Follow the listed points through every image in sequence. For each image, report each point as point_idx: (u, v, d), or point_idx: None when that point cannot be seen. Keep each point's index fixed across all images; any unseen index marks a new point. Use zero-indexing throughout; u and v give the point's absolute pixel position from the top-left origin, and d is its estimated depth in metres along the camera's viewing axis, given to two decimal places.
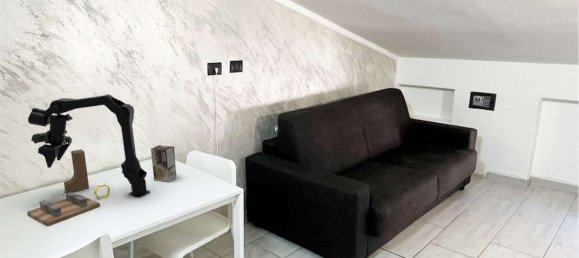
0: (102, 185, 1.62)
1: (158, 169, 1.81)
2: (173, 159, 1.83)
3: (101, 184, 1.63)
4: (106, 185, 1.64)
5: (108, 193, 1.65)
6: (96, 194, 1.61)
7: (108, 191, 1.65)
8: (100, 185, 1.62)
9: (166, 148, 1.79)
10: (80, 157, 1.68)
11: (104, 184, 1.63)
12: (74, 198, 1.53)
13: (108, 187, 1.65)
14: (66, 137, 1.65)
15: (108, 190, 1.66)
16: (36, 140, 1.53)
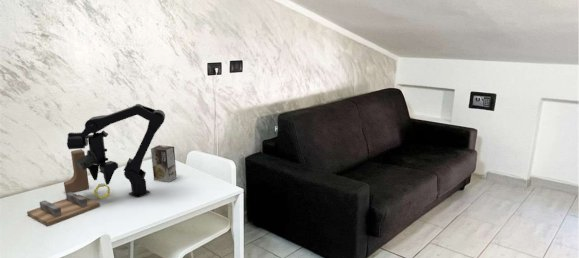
0: (102, 185, 1.62)
1: (158, 169, 1.81)
2: (173, 159, 1.83)
3: (101, 184, 1.63)
4: (106, 185, 1.64)
5: (108, 193, 1.65)
6: (96, 194, 1.61)
7: (108, 191, 1.65)
8: (100, 185, 1.62)
9: (166, 148, 1.79)
10: (80, 157, 1.68)
11: (104, 184, 1.63)
12: (74, 198, 1.53)
13: (108, 187, 1.65)
14: None
15: (108, 190, 1.66)
16: (90, 164, 1.53)
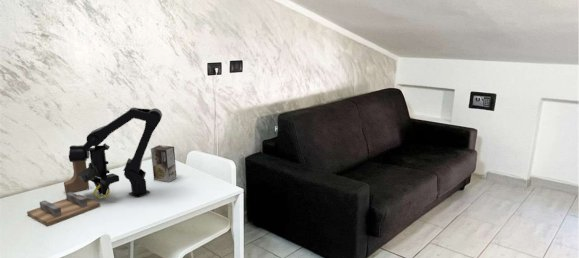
0: None
1: (158, 169, 1.81)
2: (173, 159, 1.83)
3: None
4: None
5: (108, 193, 1.65)
6: (96, 194, 1.61)
7: (108, 191, 1.65)
8: None
9: (166, 148, 1.79)
10: None
11: None
12: (74, 198, 1.53)
13: None
14: None
15: (108, 190, 1.65)
16: (92, 177, 1.54)
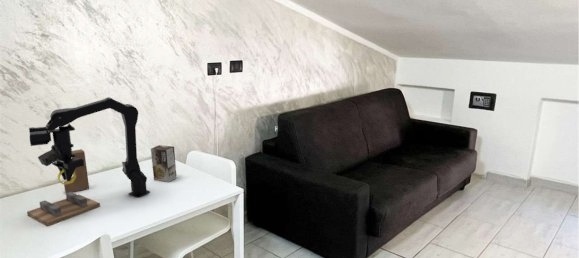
0: None
1: (158, 169, 1.81)
2: (173, 159, 1.83)
3: None
4: None
5: (73, 179, 1.52)
6: (59, 179, 1.48)
7: (73, 177, 1.52)
8: None
9: (166, 148, 1.79)
10: (80, 157, 1.68)
11: None
12: (74, 198, 1.53)
13: None
14: None
15: (73, 176, 1.52)
16: (53, 160, 1.41)
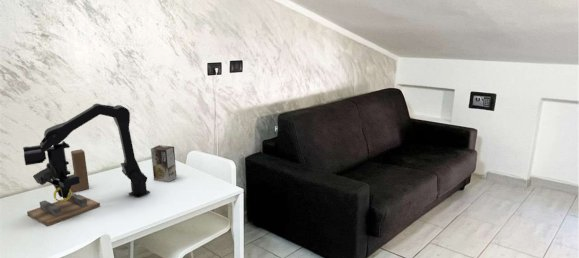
0: None
1: (158, 169, 1.81)
2: (173, 159, 1.83)
3: None
4: None
5: (69, 196, 1.51)
6: (55, 197, 1.47)
7: (69, 194, 1.51)
8: None
9: (166, 148, 1.79)
10: (80, 157, 1.68)
11: None
12: (74, 198, 1.53)
13: None
14: None
15: (70, 193, 1.52)
16: (49, 179, 1.40)
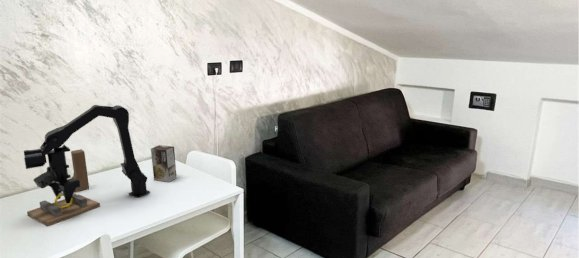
0: (63, 194, 1.49)
1: (158, 169, 1.81)
2: (173, 159, 1.83)
3: (62, 193, 1.50)
4: None
5: (70, 202, 1.52)
6: (56, 204, 1.48)
7: None
8: (61, 194, 1.48)
9: (166, 148, 1.79)
10: (80, 157, 1.68)
11: None
12: (74, 198, 1.53)
13: None
14: None
15: None
16: (49, 182, 1.41)
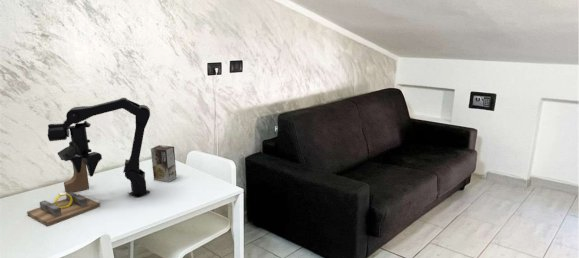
0: (63, 194, 1.49)
1: (158, 169, 1.81)
2: (173, 159, 1.83)
3: (62, 193, 1.49)
4: (68, 194, 1.51)
5: (70, 203, 1.52)
6: (56, 204, 1.48)
7: (70, 200, 1.52)
8: (61, 194, 1.48)
9: (166, 148, 1.79)
10: None
11: (66, 193, 1.50)
12: (74, 198, 1.53)
13: (70, 196, 1.51)
14: None
15: (70, 199, 1.52)
16: (73, 155, 1.49)
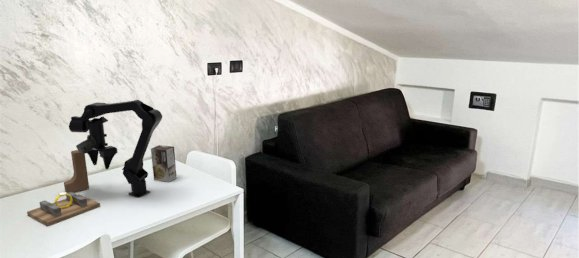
0: (63, 194, 1.49)
1: (158, 169, 1.81)
2: (173, 159, 1.83)
3: (62, 193, 1.49)
4: (68, 194, 1.51)
5: (70, 203, 1.52)
6: (56, 204, 1.48)
7: (70, 200, 1.52)
8: (61, 194, 1.48)
9: (166, 148, 1.79)
10: (80, 157, 1.68)
11: (66, 193, 1.50)
12: (74, 198, 1.53)
13: (70, 196, 1.51)
14: None
15: (70, 199, 1.52)
16: (90, 148, 1.56)
